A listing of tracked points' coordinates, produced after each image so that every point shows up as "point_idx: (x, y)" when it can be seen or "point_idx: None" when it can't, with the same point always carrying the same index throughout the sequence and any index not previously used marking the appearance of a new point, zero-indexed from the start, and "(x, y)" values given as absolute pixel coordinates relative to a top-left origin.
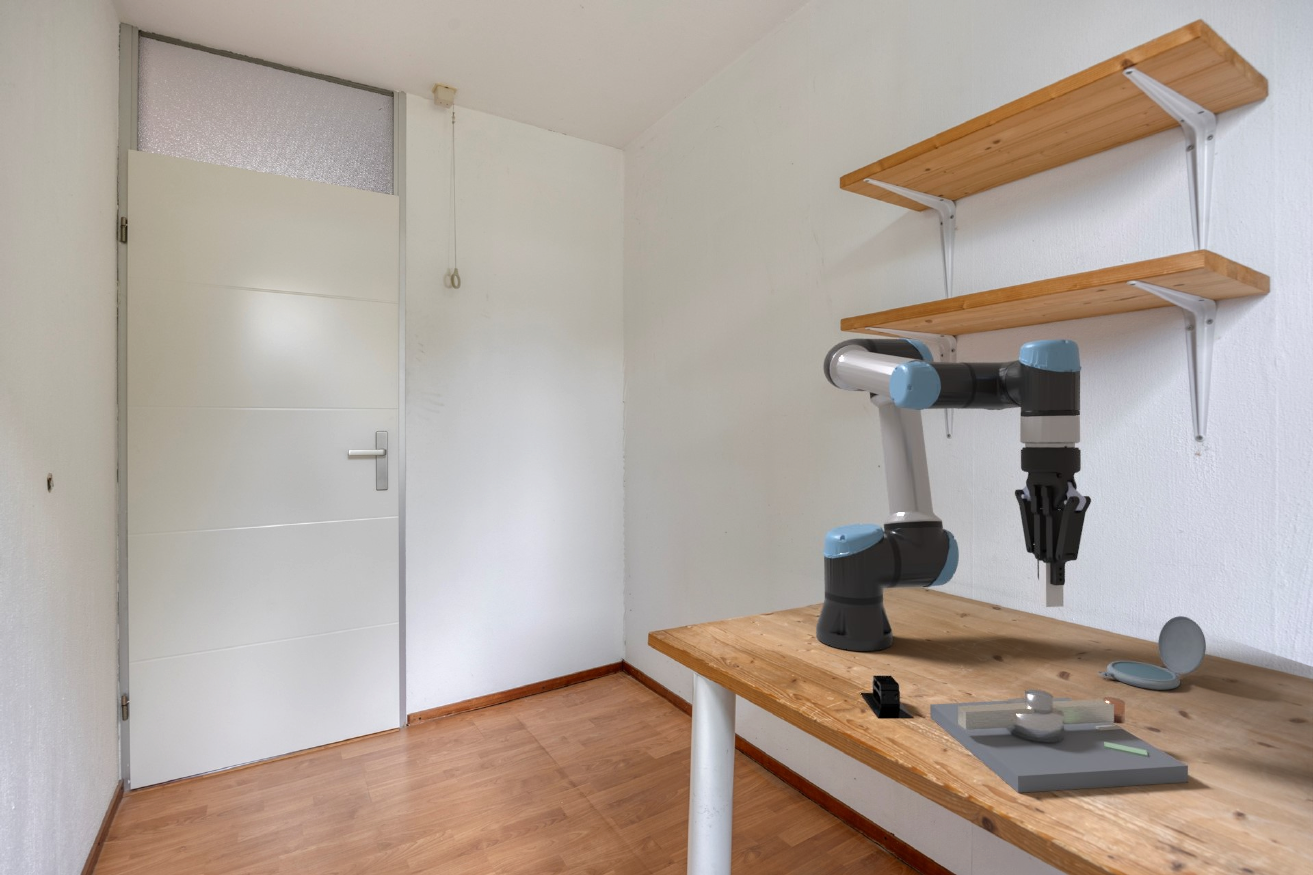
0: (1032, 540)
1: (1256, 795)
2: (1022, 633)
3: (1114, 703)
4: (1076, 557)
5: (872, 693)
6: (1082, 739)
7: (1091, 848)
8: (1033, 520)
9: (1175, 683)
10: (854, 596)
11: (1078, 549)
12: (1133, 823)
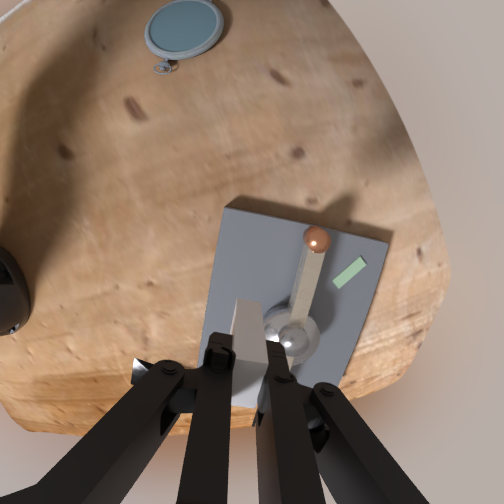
0: (168, 429)
1: (412, 206)
2: (27, 62)
3: (325, 249)
4: (338, 391)
5: (134, 375)
6: (317, 293)
7: (389, 379)
8: (128, 473)
9: (223, 19)
10: None
11: (354, 409)
12: (391, 337)
